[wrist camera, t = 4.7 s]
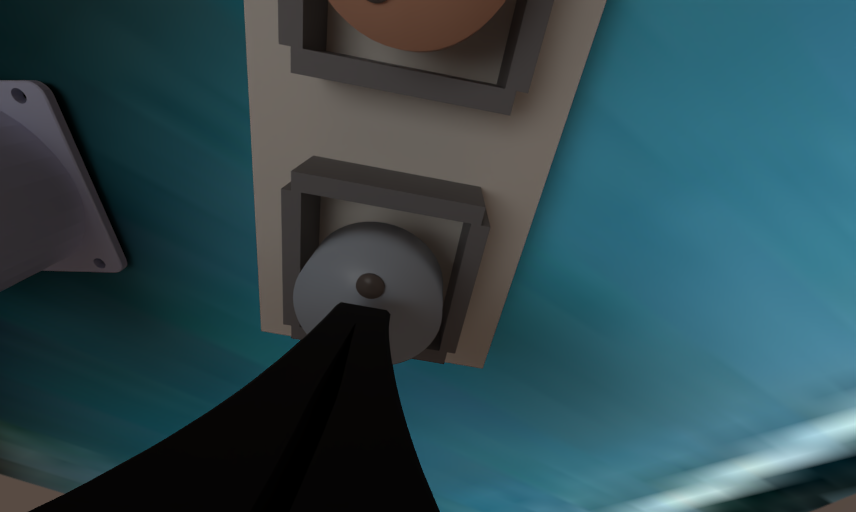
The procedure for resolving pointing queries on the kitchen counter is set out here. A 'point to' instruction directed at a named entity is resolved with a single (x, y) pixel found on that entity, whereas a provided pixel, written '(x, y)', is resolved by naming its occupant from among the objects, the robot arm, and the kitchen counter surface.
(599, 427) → the kitchen counter surface
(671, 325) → the kitchen counter surface
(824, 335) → the kitchen counter surface
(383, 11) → the three pip button
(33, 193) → the robot arm
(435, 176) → the button panel
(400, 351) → the two pip button
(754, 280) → the kitchen counter surface
